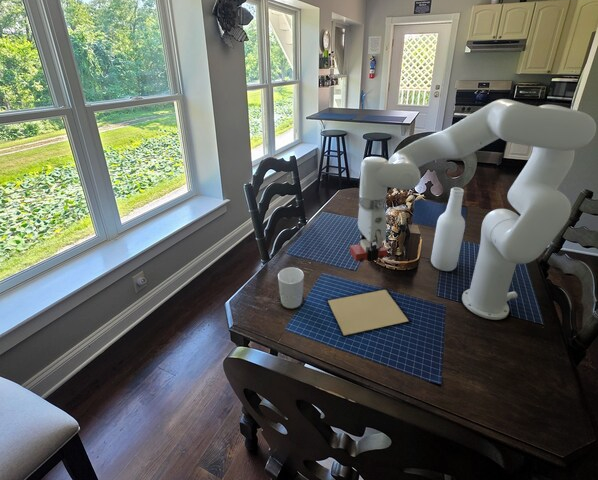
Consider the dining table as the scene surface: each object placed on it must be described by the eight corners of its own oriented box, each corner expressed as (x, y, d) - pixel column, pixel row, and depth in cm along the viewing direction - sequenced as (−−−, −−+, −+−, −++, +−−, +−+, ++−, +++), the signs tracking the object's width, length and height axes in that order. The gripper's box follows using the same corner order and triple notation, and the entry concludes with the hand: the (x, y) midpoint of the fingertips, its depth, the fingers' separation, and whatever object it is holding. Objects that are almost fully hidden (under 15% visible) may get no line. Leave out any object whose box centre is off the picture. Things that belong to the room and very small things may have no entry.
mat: (385, 289, 105) (385, 289, 105) (408, 321, 93) (408, 320, 93) (327, 301, 101) (327, 300, 101) (344, 335, 89) (344, 335, 88)
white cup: (282, 312, 97) (281, 285, 93) (276, 295, 104) (275, 269, 100) (307, 307, 99) (306, 280, 95) (300, 290, 106) (299, 265, 102)
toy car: (379, 249, 101) (380, 236, 99) (386, 258, 97) (388, 244, 95) (349, 253, 99) (350, 240, 97) (355, 263, 95) (356, 249, 93)
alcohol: (450, 257, 121) (465, 184, 110) (460, 272, 113) (477, 194, 102) (427, 257, 122) (439, 184, 110) (435, 272, 114) (449, 194, 102)
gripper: (399, 212, 84) (393, 269, 91) (371, 188, 99) (368, 238, 106) (373, 215, 82) (368, 273, 89) (349, 190, 98) (346, 242, 105)
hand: (368, 254), depth 98 cm, fingers closed on toy car, 5 cm apart
